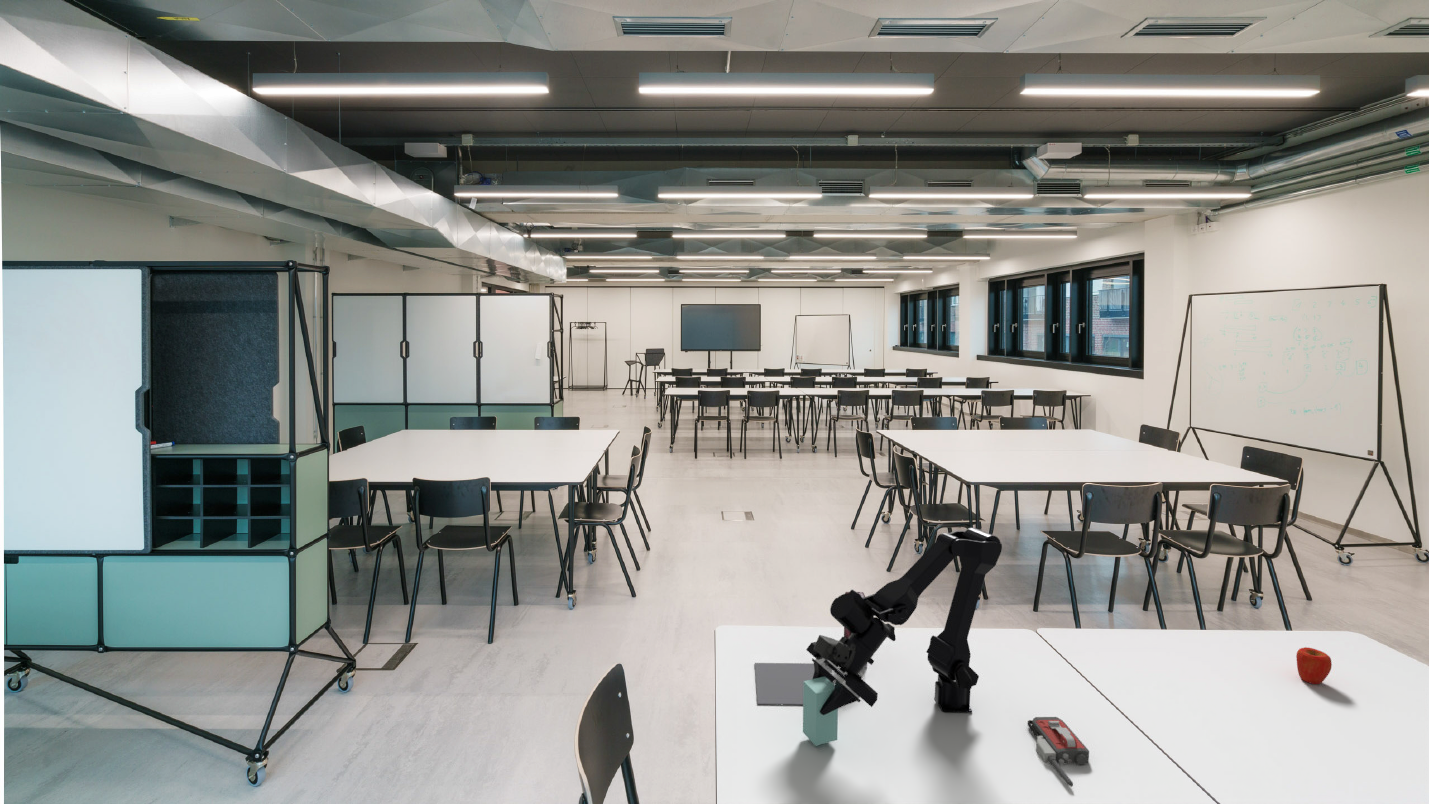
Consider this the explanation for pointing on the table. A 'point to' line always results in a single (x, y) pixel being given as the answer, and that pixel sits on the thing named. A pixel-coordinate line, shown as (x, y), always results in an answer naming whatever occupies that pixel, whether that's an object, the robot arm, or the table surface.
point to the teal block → (818, 711)
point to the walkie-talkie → (1058, 744)
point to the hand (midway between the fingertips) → (814, 706)
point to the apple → (1313, 665)
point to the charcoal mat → (782, 682)
